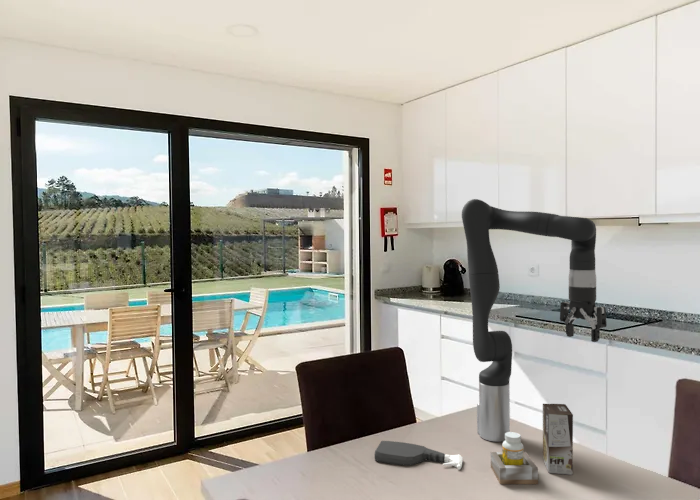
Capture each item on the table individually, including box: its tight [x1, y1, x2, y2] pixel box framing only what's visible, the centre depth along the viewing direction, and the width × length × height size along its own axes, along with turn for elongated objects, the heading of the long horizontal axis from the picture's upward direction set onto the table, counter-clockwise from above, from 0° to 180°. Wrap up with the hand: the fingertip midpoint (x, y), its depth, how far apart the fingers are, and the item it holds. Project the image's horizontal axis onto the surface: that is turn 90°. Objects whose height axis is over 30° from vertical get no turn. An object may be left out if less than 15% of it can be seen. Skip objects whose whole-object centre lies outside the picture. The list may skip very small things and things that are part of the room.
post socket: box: [490, 451, 539, 485], centre depth 136 cm, size 10×10×4 cm
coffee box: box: [542, 403, 574, 476], centre depth 140 cm, size 9×6×16 cm
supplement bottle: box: [501, 431, 524, 465], centre depth 136 cm, size 5×5×10 cm
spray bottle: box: [374, 440, 464, 471], centre depth 147 cm, size 3×11×24 cm
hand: (582, 339), depth 153 cm, fingers open, 8 cm apart
